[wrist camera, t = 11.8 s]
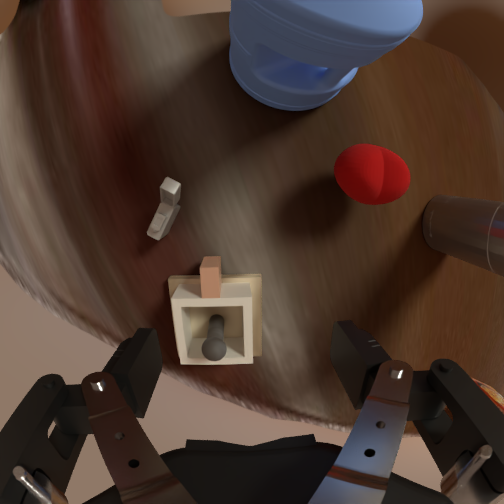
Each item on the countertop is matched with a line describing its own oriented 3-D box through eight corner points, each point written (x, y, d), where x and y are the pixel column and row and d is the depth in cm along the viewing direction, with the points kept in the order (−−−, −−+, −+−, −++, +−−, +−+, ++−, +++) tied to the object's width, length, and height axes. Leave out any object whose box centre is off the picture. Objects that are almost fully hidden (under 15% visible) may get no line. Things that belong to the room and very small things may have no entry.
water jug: (210, 41, 28) (190, -122, 1) (307, 13, 28) (377, -112, 1) (262, 130, 32) (349, -22, 5) (360, 93, 31) (509, 9, 4)
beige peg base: (260, 273, 36) (270, 303, 26) (260, 350, 39) (268, 393, 29) (170, 275, 35) (150, 305, 26) (180, 351, 38) (168, 394, 28)
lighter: (167, 234, 34) (149, 247, 26) (156, 228, 34) (135, 239, 26) (191, 185, 33) (180, 183, 25) (180, 179, 33) (164, 176, 25)
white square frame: (248, 255, 34) (251, 266, 29) (250, 342, 37) (253, 363, 32) (176, 257, 33) (168, 268, 28) (186, 343, 36) (180, 364, 31)
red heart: (378, 156, 34) (421, 150, 24) (375, 205, 35) (418, 212, 25) (318, 145, 33) (348, 130, 23) (314, 197, 34) (344, 201, 25)
